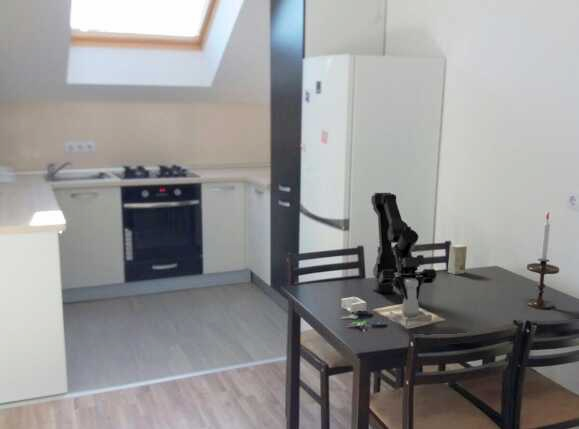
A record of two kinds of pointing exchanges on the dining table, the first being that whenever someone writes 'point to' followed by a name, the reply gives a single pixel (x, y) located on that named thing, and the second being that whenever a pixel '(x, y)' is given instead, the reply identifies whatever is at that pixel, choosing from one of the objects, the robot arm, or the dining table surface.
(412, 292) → the salt shaker
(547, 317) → the dining table surface
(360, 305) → the end cap
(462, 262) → the skincare box
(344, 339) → the dining table surface
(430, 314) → the board
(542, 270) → the candlestick
